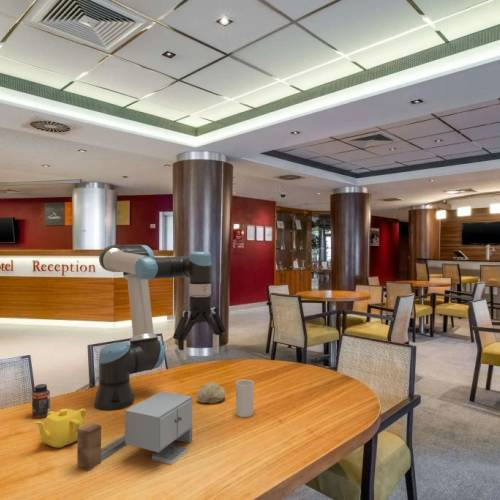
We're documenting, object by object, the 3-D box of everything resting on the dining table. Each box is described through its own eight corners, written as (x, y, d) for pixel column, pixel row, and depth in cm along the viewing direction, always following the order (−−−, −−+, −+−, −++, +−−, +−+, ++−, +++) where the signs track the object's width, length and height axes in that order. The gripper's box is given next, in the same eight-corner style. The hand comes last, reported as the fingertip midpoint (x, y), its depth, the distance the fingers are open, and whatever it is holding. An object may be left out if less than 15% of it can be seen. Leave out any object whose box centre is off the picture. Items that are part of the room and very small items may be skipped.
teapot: (78, 450, 129) (78, 417, 129) (33, 454, 127) (34, 420, 127) (87, 431, 142) (88, 401, 142) (47, 434, 140) (47, 403, 140)
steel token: (152, 461, 124) (152, 455, 124) (168, 449, 131) (168, 443, 131) (171, 466, 121) (171, 460, 121) (186, 454, 128) (186, 448, 128)
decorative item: (213, 398, 162) (196, 383, 168) (208, 415, 165) (191, 400, 171) (233, 386, 171) (216, 372, 177) (228, 403, 175) (212, 388, 180)
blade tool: (77, 467, 119) (77, 429, 119) (128, 435, 139) (128, 403, 139) (89, 470, 117) (89, 431, 117) (139, 438, 137) (139, 405, 137)
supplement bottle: (53, 414, 157) (53, 384, 157) (39, 420, 151) (39, 389, 151) (42, 411, 159) (42, 382, 159) (28, 417, 154) (28, 386, 154)
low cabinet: (125, 459, 124) (125, 410, 124) (161, 434, 140) (161, 391, 140) (161, 468, 118) (161, 417, 118) (195, 441, 135) (195, 397, 135)
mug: (256, 416, 156) (256, 383, 155) (239, 419, 153) (239, 386, 153) (246, 406, 165) (246, 376, 165) (230, 409, 162) (230, 378, 162)
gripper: (174, 299, 136) (174, 364, 136) (234, 294, 152) (234, 352, 152) (163, 297, 142) (163, 359, 142) (222, 292, 158) (222, 348, 158)
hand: (200, 355), depth 147 cm, fingers open, 13 cm apart
